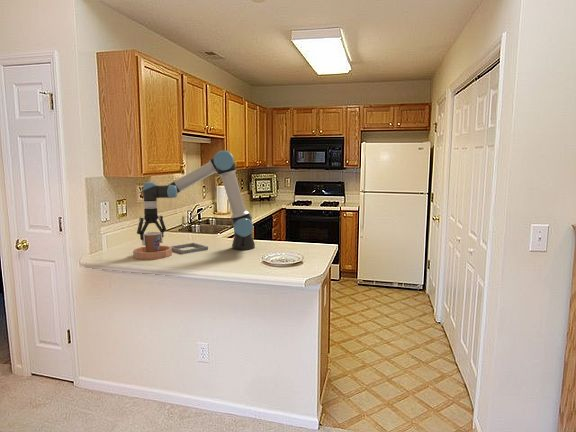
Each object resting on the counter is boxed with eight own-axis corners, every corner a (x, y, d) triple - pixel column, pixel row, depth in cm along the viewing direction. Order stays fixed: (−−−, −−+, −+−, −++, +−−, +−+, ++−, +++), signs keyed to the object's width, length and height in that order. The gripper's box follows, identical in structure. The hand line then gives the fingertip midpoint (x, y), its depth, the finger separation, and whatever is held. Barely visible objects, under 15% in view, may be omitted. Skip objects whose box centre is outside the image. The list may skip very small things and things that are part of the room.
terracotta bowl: (178, 255, 242) (177, 249, 242) (143, 261, 227) (142, 254, 227) (162, 250, 258) (161, 244, 258) (128, 255, 243) (127, 249, 243)
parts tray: (208, 249, 258) (208, 246, 258) (182, 254, 246) (182, 250, 246) (193, 245, 272) (193, 242, 271) (168, 249, 259) (168, 246, 259)
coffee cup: (156, 254, 236) (155, 234, 235) (140, 254, 238) (139, 234, 237) (164, 251, 246) (163, 232, 245) (149, 250, 248) (148, 231, 247)
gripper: (165, 206, 249) (167, 240, 252) (129, 209, 234) (131, 245, 237) (171, 206, 244) (172, 242, 247) (134, 209, 228) (136, 247, 231)
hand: (152, 244), depth 242 cm, fingers closed on coffee cup, 10 cm apart
